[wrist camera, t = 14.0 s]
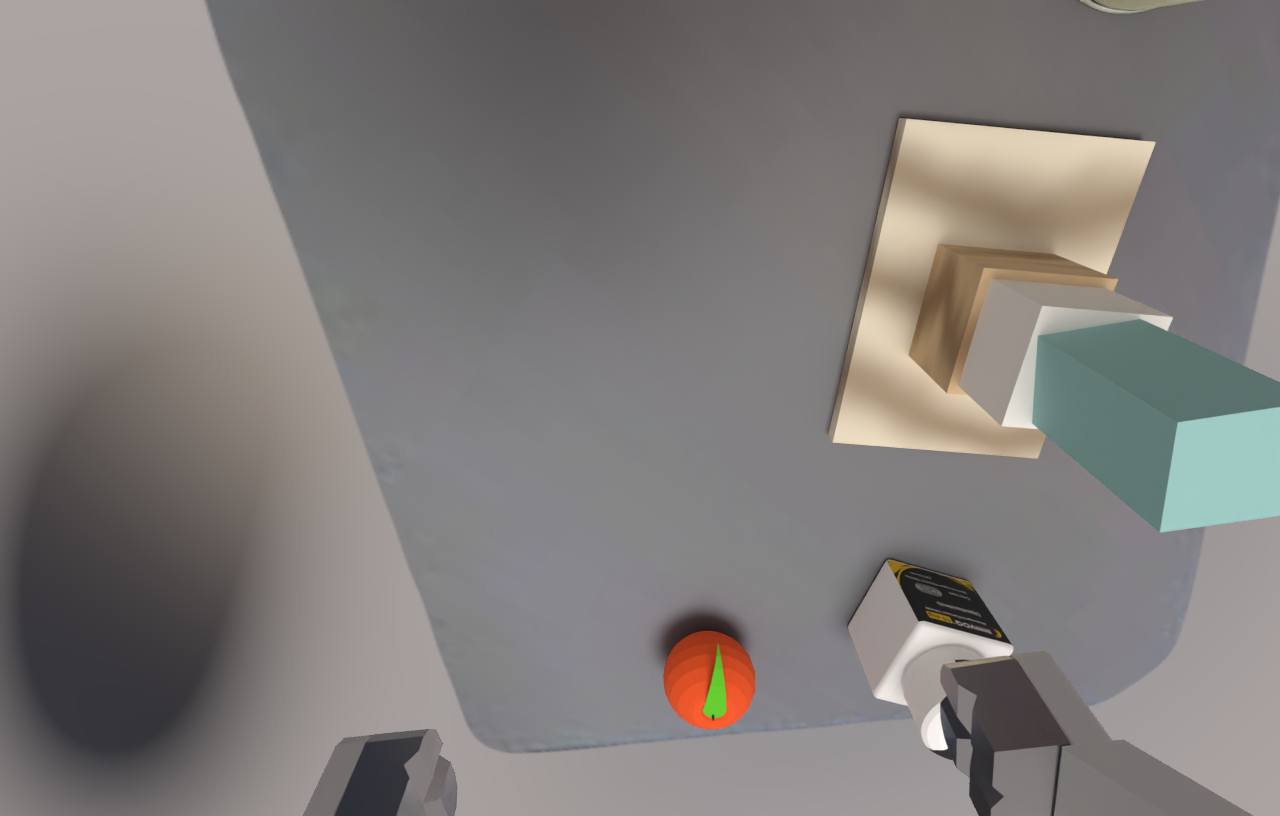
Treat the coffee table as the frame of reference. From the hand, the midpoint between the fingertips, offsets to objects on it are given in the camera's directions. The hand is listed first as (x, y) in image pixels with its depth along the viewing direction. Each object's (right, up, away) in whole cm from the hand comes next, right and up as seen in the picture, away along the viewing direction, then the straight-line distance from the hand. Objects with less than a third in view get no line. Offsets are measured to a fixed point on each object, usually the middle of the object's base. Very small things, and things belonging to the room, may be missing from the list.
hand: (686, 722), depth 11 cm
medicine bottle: (+20, -10, +42) cm, 48 cm away
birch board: (+20, +12, +32) cm, 40 cm away
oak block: (+20, +11, +31) cm, 38 cm away
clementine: (+4, -13, +44) cm, 46 cm away
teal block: (+20, +7, +21) cm, 30 cm away
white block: (+20, +9, +25) cm, 34 cm away
